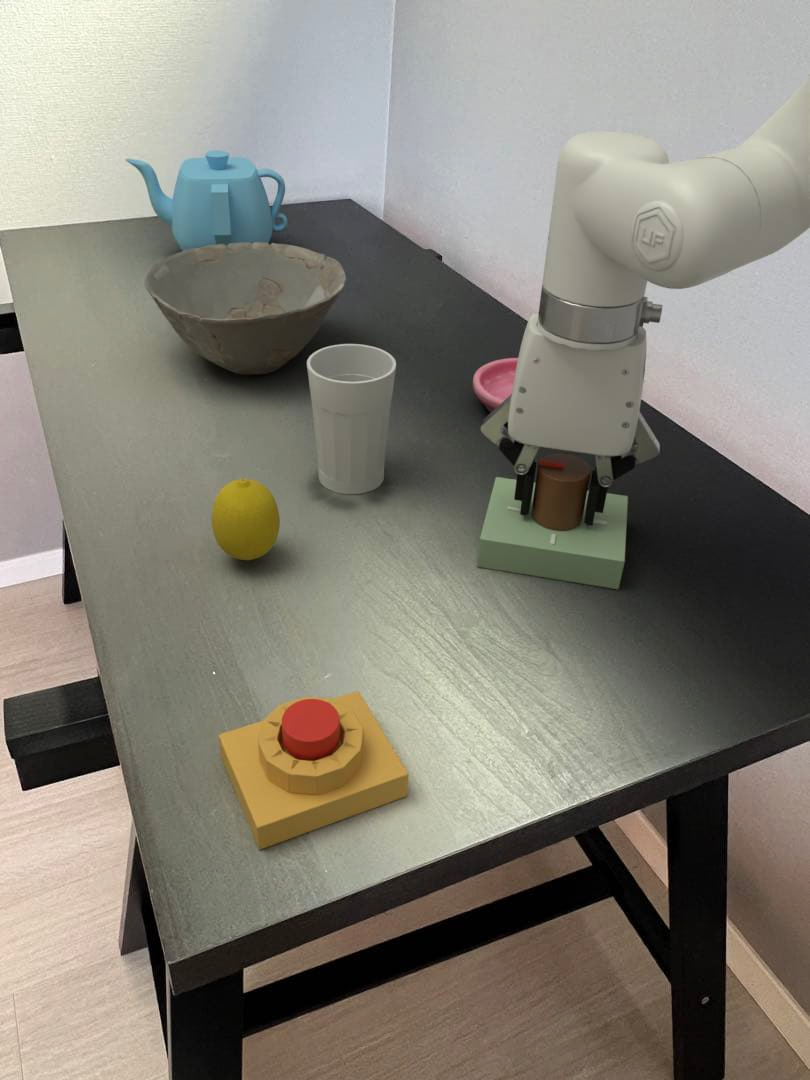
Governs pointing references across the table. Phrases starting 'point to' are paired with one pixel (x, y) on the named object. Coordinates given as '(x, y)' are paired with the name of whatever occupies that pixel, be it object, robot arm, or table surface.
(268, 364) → the ceramic bowl
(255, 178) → the teapot
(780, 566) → the table surface
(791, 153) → the robot arm
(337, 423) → the cup
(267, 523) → the lemon
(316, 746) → the button
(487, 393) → the saucer
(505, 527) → the panel
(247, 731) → the button box
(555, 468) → the knob
